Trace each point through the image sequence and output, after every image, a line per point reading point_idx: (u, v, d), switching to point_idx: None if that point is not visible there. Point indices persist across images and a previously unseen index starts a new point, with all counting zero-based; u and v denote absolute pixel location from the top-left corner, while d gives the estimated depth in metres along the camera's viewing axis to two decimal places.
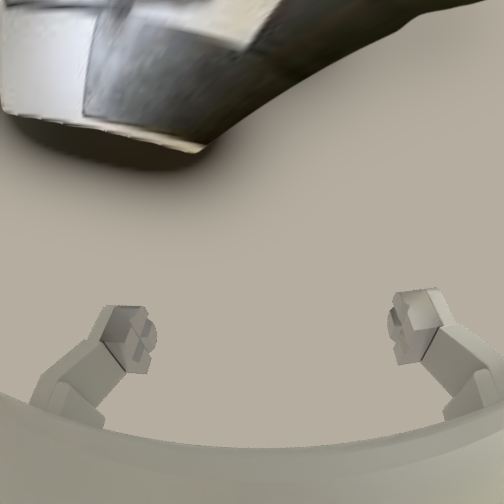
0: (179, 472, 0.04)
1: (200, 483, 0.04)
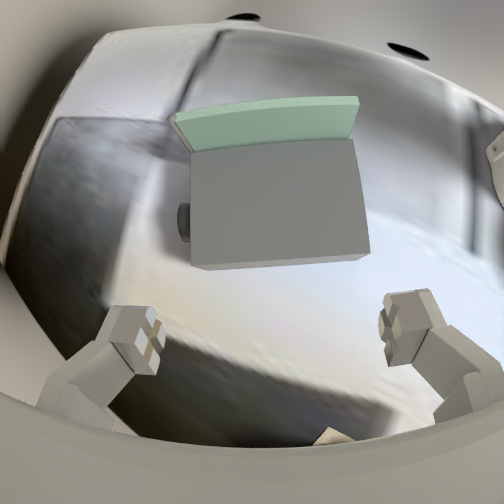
0: (179, 472, 0.04)
1: (200, 483, 0.04)
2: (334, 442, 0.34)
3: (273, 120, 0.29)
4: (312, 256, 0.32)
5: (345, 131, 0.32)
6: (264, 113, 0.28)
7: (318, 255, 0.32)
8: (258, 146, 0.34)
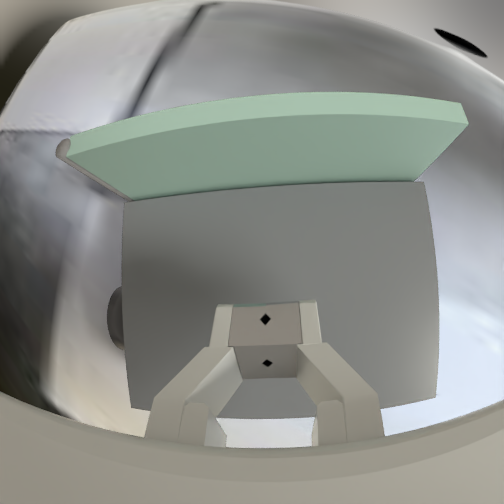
0: (179, 472, 0.04)
1: (200, 483, 0.04)
2: None
3: (278, 144, 0.13)
4: None
5: (416, 168, 0.15)
6: (255, 130, 0.12)
7: None
8: (246, 192, 0.18)
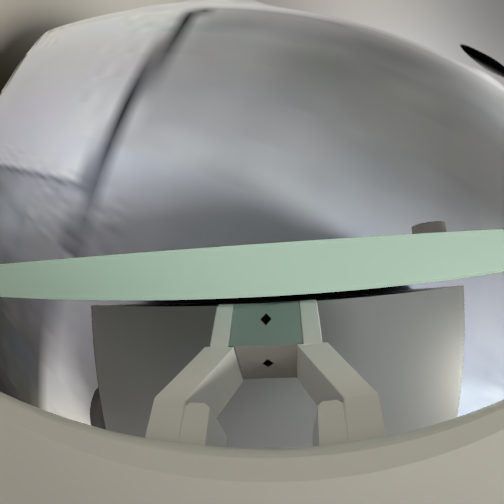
0: (179, 472, 0.04)
1: (200, 483, 0.04)
2: None
3: None
4: None
5: None
6: None
7: None
8: None
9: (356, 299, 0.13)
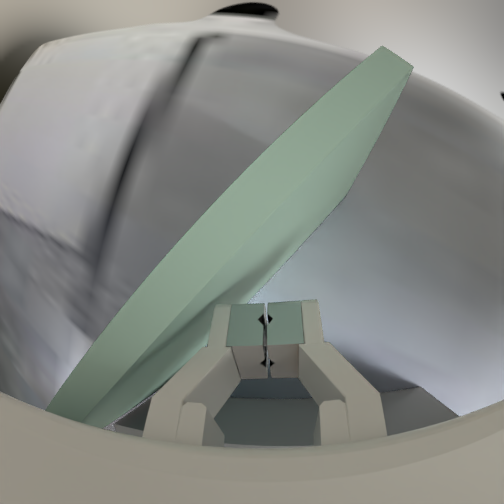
0: (179, 472, 0.04)
1: (200, 483, 0.04)
2: None
3: (220, 292, 0.09)
4: None
5: (367, 151, 0.12)
6: (186, 317, 0.08)
7: None
8: None
9: None
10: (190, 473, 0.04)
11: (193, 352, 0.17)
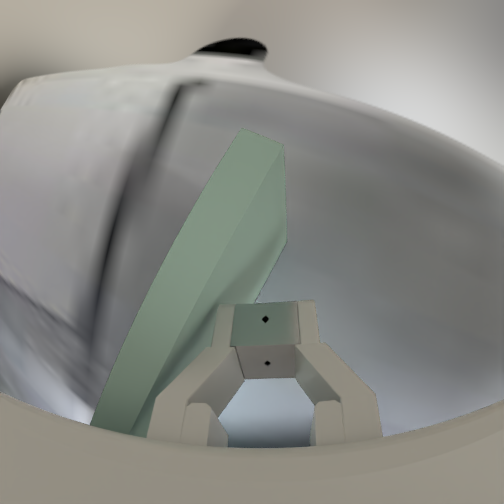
0: (179, 472, 0.04)
1: (200, 483, 0.04)
2: None
3: None
4: None
5: (278, 221, 0.12)
6: None
7: None
8: None
9: None
10: (190, 473, 0.04)
11: None
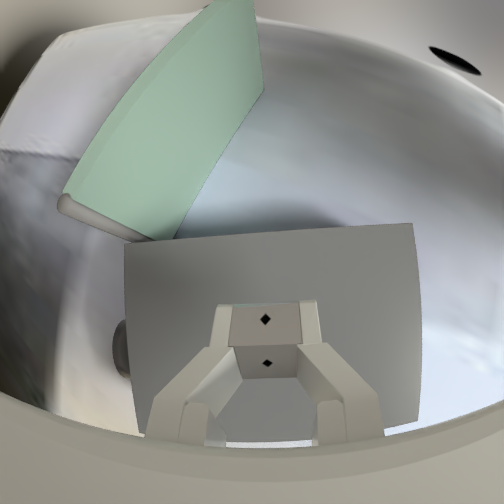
0: (179, 472, 0.04)
1: (200, 483, 0.04)
2: None
3: (188, 76, 0.16)
4: None
5: (253, 37, 0.20)
6: (173, 71, 0.15)
7: None
8: (242, 237, 0.19)
9: (326, 228, 0.18)
10: (190, 473, 0.04)
11: (182, 189, 0.24)
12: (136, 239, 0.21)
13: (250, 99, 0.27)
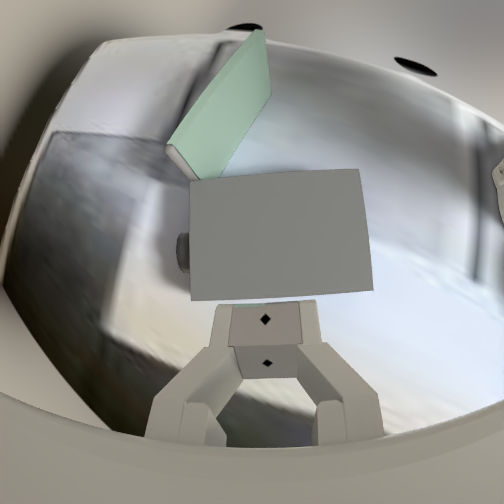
0: (179, 472, 0.04)
1: (200, 483, 0.04)
2: None
3: (230, 88, 0.31)
4: (314, 294, 0.31)
5: (265, 62, 0.34)
6: (224, 86, 0.29)
7: (320, 293, 0.31)
8: (260, 176, 0.33)
9: (307, 171, 0.33)
10: (190, 473, 0.04)
11: (221, 154, 0.38)
12: (195, 180, 0.36)
13: (262, 100, 0.41)
